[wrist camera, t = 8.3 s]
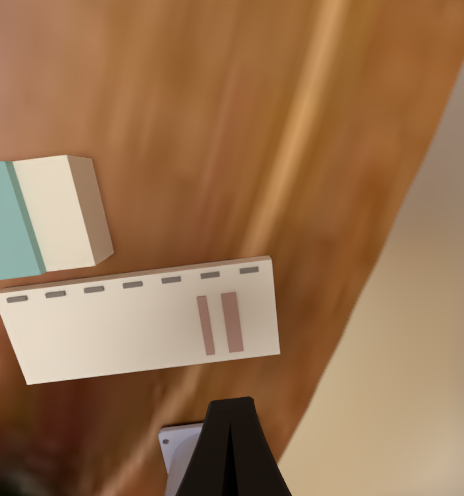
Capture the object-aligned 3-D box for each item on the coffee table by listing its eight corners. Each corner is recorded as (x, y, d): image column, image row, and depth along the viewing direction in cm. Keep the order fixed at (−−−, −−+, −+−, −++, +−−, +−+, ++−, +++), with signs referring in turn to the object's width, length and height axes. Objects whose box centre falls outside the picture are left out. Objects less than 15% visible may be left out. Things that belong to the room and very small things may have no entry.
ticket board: (277, 345, 20) (280, 355, 19) (36, 374, 20) (25, 386, 19) (269, 255, 18) (272, 260, 17) (5, 288, 18) (-10, 295, 17)
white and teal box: (115, 251, 18) (91, 268, 15) (-2, 265, 18) (-53, 286, 15) (94, 158, 17) (60, 154, 13) (-34, 174, 17) (-100, 173, 13)
